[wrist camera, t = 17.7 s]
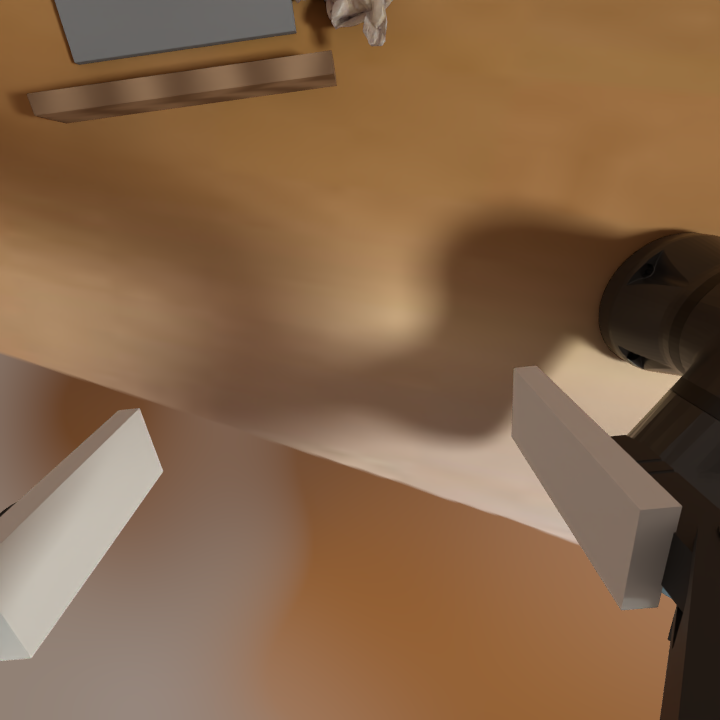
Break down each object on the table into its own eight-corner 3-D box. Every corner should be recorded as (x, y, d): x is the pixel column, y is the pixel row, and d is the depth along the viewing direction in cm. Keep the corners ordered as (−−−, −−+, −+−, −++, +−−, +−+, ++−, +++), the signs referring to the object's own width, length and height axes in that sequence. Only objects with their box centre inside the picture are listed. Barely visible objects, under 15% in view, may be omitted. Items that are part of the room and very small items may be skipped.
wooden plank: (334, 64, 36) (331, 50, 33) (336, 85, 37) (334, 73, 33) (59, 103, 38) (26, 93, 34) (66, 123, 38) (34, 115, 34)
